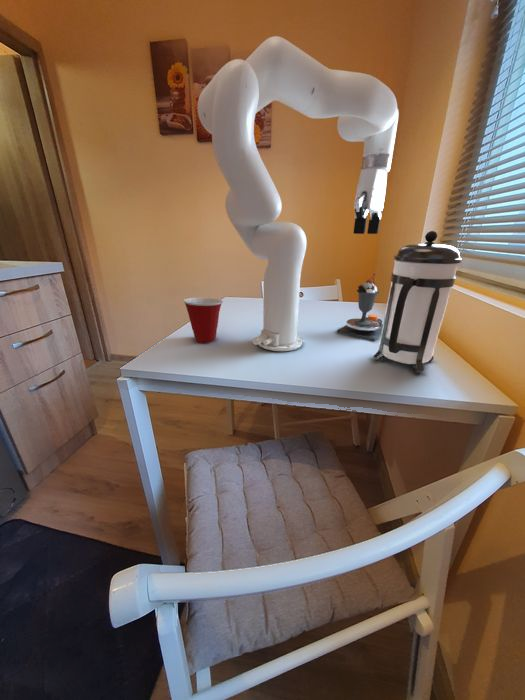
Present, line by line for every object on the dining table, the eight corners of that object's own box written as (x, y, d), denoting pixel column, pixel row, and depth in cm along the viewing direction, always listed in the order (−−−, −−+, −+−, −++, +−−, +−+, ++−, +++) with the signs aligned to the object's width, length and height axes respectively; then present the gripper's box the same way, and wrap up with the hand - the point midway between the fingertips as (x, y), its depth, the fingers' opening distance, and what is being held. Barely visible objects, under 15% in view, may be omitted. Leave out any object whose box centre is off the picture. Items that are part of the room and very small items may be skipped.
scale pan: (372, 332, 82) (372, 330, 81) (340, 325, 87) (341, 323, 87) (384, 325, 89) (384, 322, 88) (354, 319, 94) (354, 316, 94)
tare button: (375, 322, 92) (376, 317, 91) (365, 320, 94) (366, 315, 93) (378, 320, 94) (379, 315, 94) (369, 318, 96) (370, 314, 96)
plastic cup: (232, 337, 83) (230, 298, 79) (207, 349, 75) (204, 305, 70) (205, 331, 89) (202, 293, 84) (179, 341, 80) (174, 300, 76)
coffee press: (359, 348, 77) (378, 230, 65) (418, 349, 76) (447, 231, 65) (382, 378, 61) (413, 230, 49) (456, 380, 61) (505, 231, 49)
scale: (374, 341, 82) (375, 333, 81) (337, 332, 89) (337, 325, 88) (392, 328, 94) (393, 321, 93) (357, 321, 101) (358, 314, 100)
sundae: (373, 321, 90) (382, 273, 84) (374, 327, 84) (383, 276, 78) (352, 319, 92) (359, 272, 86) (351, 324, 86) (358, 275, 80)
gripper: (374, 172, 84) (365, 233, 91) (348, 162, 72) (340, 233, 79) (400, 169, 79) (389, 234, 86) (377, 157, 67) (366, 233, 74)
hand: (366, 233), depth 82 cm, fingers open, 9 cm apart
